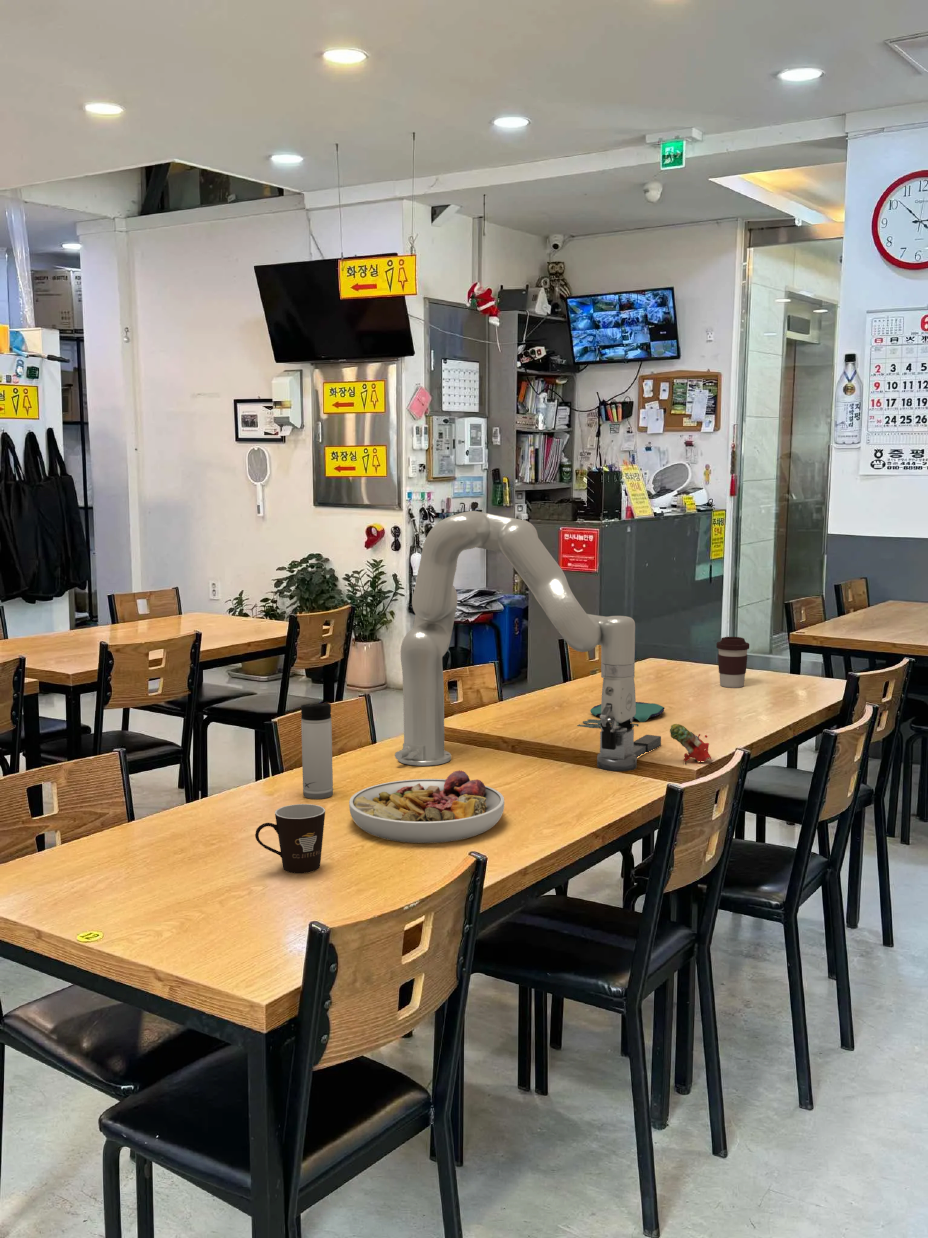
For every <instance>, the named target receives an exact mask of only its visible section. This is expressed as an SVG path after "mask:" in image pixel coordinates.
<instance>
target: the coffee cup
mask: <svg viewBox="0 0 928 1238" xmlns="http://www.w3.org/2000/svg"><path fill="white" fill-rule="evenodd" d="M716 649H718V654H717V659H718V660H717V661H718V662H717V663H718V664H717V665H718V667H717V668H718V673H719V685H720V686H721V687H723V688H730V689H731V688H733V689H736V688H737V689H738V688H742V687H744V685H745V680H746V679H745V677H746V673H747V666H748V665H747V664H748V663H747V662H748V650H749V649H750V643H749V642H746V640H745V638H744V637H740V636H724V637H721V638H720V641H718V642H716Z"/></svg>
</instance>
